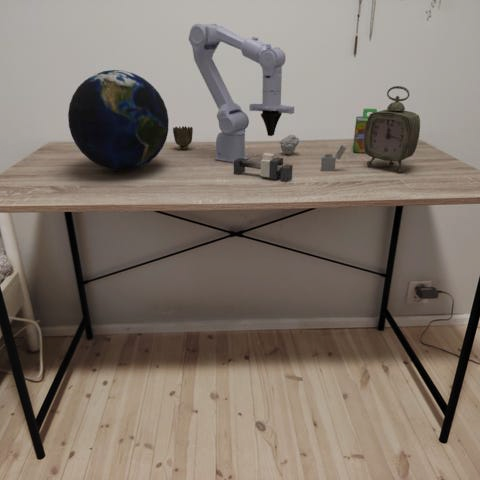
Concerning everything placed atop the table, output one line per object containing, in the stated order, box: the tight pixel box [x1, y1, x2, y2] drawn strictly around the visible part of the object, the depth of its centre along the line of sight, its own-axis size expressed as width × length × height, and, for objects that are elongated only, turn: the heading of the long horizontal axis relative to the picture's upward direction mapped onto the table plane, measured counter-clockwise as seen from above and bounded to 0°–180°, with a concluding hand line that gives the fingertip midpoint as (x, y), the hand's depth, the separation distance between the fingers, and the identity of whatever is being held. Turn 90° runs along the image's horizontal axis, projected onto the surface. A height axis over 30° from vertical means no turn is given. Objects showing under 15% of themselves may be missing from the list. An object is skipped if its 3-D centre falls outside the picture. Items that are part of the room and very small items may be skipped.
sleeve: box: [260, 152, 276, 178], centre depth 132 cm, size 3×5×6 cm, turn 151°
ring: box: [268, 156, 284, 180], centre depth 131 cm, size 2×5×5 cm, turn 152°
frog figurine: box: [279, 134, 300, 155], centre depth 156 cm, size 6×7×7 cm
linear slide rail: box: [233, 158, 294, 183], centre depth 133 cm, size 18×4×4 cm, turn 62°
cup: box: [172, 125, 194, 151], centre depth 164 cm, size 8×7×8 cm
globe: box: [67, 69, 169, 172], centre depth 136 cm, size 30×30×30 cm
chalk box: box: [352, 108, 378, 154], centre depth 159 cm, size 9×9×15 cm
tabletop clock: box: [364, 85, 421, 173], centre depth 136 cm, size 14×9×25 cm, turn 47°
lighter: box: [320, 144, 347, 172], centre depth 138 cm, size 7×2×8 cm, turn 89°
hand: (270, 135), depth 141 cm, fingers closed
